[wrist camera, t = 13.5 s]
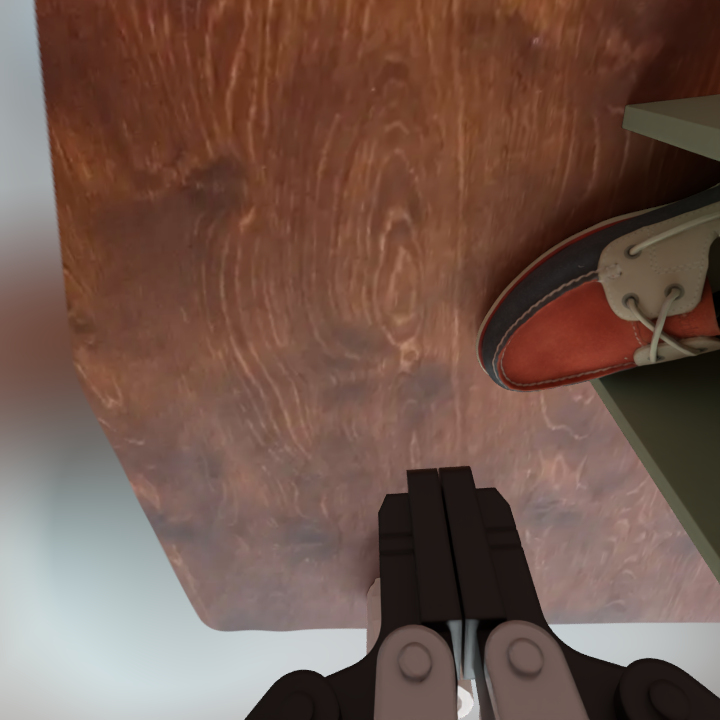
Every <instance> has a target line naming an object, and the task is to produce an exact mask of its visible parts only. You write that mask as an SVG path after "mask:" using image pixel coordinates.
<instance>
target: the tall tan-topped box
mask: <svg viewBox="0 0 720 720" xmlns="http://www.w3.org/2000/svg"><path fill="white" fill-rule="evenodd" d="M622 128H624V129H627V130H630V131H633V132H636V133H639V134H641V135H644V136H647V137H650V138H653V139H656V140H659V141H662V142H665V143H668V144H671V145H674V146H677V147H679V148H682V149H685V150H688V151H691V152H694V153H697V154H700V155H703V156H706V157H709V158H712V159H714V160H717V161H720V94H718V95H710V96H701V97H693V98H684V99H676V100H667V101H659V102H650V103H642V104H633V105H626V107H625V113H624V119H623V125H622ZM590 382H591V384H592V385H593V387H594V389H595V390H596V392H597V393H598V395H599V396H600V398H601V399H602V401H603V403H604V404H605V406H606V407H607V409H608V410H609V412H610V414H611V415H612V417H613V418H614V420H615V421H616V423H617V424H618V426H619V428H620V429H621V431H622V432H623V434H624V435H625V437H626V438H627V440H628V442H629V443H630V445H631V446H632V448H633V449H634V451H635V453H636V454H637V456H638V457H639V459H640V460H641V462H642V463H643V465H644V467H645V468H646V470H647V471H648V473H649V474H650V476H651V478H652V479H653V481H654V482H655V484H656V485H657V487H658V488H659V490H660V492H661V493H662V495H663V496H664V498H665V499H666V501H667V503H668V504H669V506H670V507H671V509H672V510H673V512H674V513H675V515H676V517H677V518H678V520H679V521H680V523H681V524H682V526H683V527H684V529H685V531H686V532H687V534H688V535H689V537H690V538H691V540H692V542H693V543H694V545H695V546H696V548H697V549H698V551H699V552H700V554H701V556H702V557H703V559H704V560H705V562H706V563H707V565H708V567H709V568H710V570H711V571H712V573H713V574H714V576H715V577H716V579H717V581H718V582H719V584H720V349H719V350H715V351H711V352H706V353H702V354H698V355H696V356H688V357H684V358H680V359H676V360H671V361H666V362H661V363H656V364H649V365H642V366H637V367H635V368H632V369H628V370H624V371H619V372H616V373H613V374H610V375H607V376H604V377H601V378H597V379H593V380H590Z"/></svg>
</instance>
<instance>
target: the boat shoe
mask: <svg viewBox="0 0 720 720" xmlns="http://www.w3.org/2000/svg"><path fill="white" fill-rule="evenodd" d="M719 349H720V183H719V184H717V185H716V186H713V187H711V188H709V189H707V190H705V191H702V192H700V193H697V194H695V195H692V196H690V197H687V198H685V199H682V200H679V201H676V202H673V203H670V204H666V205H662V206H658V207H654V208H649V209H645V210H641V211H637V212H633V213H629V214H625V215H621V216H617V217H614V218H611V219H608V220H605V221H602V222H600V223H598V224H596V225H594V226H592V227H590V228H587V229H585V230H583V231H581V232H579V233H577V234H575V235H573V236H571V237H569V238H567V239H565V240H563V241H562V242H560V243H558V244H557V245H555V246H554V247H552V248H551V249H549V250H548V251H546V252H545V253H544V254H542V255H541V256H540V257H539V258H537V259H536V260H535V261H533V262H532V263H531V264H530V265H529V266H528V267H527V268H525V269H524V270H523V271H522V272H521V273H520V274H519V275H518V276H517V277H516V278H515V279H514V280H513V281H512V282H511V283H510V284H509V285H508V286H507V287H506V288H505V290H504V291H503V292H502V293H501V294H500V296H499V297H498V298H497V300H496V301H495V302H494V304H493V305H492V307H491V308H490V310H489V312H488V313H487V315H486V316H485V318H484V320H483V322H482V324H481V326H480V329H479V331H478V334H477V339H476V355H477V359H478V362H479V364H480V366H481V367H482V369H483V370H484V371H485V372H486V373H487V374H488V375H489V376H490V377H491V378H492V380H493V381H494V382H495V383H496V384H498V385H499V386H501V387H502V388H505V389H507V390H512V391H519V392H533V391H541V390H545V389H552V388H556V387H561V386H568V385H573V384H578V383H582V382H586V381H590V380H593V379H597V378H601V377H604V376H607V375H610V374H613V373H616V372H619V371H624V370H628V369H632V368H635V367H637V366H642V365H649V364H656V363H661V362H666V361H671V360H676V359H680V358H684V357H688V356H696V355H698V354H702V353H706V352H711V351H715V350H719Z"/></svg>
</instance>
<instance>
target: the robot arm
mask: <svg viewBox="0 0 720 720" xmlns="http://www.w3.org/2000/svg"><path fill="white" fill-rule="evenodd" d="M438 476H439V477H438ZM407 484H408V493H400V494H386V497H385V499H384V501H383V503H382V506H381V508H380V510H379V512H378V522H379V553H380V555H379V558H380V594H381V628H380V633H379V636H378V639H377V641H376V643H375V645H374V647H373V648H372V649H371V651H370V652H369V653H368V654H367V655H366V656H365V657H364V658H363V659H362V660H360V661H359V662H358V663H356V664H354V665H352V666H350V667H347V668H345V669H343V670H340V671H338V672H336V673H334V674H331V675H329V676H327V677H323V676H322V675H321V674H319V673H317V672H315V671H311V670H297V671H293V672H291V673H288V674H286V675H284V676H283V677H281V678H280V679H279V680H277V681H276V682H275V683H274V684H273V685H272V686H271V687H270V689H269V690H268V691H267V692H266V694H265V695H264V696H263V697H262V699H261V700H260V701H259V702H258V703H257V705H256V706H255V707H254V708H253V710H252V711H251V712H250V713H249V715H248V716H247V717H246V718H245V720H458V710H457V704H458V680H460V670H461V667H462V673H463V680H471V679H475V681H476V687H477V693H478V699H479V705H480V712H479V720H720V698H719V697H717V696H716V695H715V694H713V693H712V692H711V691H710V690H708V689H707V688H706V687H705V686H703V685H702V684H700V683H699V682H698V681H697V680H696V679H694V678H693V677H692V676H690V675H689V674H688V673H686V672H685V671H684V670H682V669H680V668H679V667H677V666H675V665H673V664H671V663H668V662H666V661H663V660H659V659H653V658H645V659H639V660H636V661H634V662H632V663H631V664H629V665H628V666H627V667H624V666H620V665H617V664H613V663H610V662H607V661H603V660H600V659H597V658H593V657H590V656H587V655H584V654H582V653H580V652H578V651H576V650H574V649H572V648H571V647H569V646H567V645H566V644H565V643H564V642H563V641H561V640H560V639H559V638H558V637H557V636H556V635H555V634H554V633H553V631H552V630H551V628H550V627H549V626H548V624H547V622H546V620H545V618H544V615H543V613H542V610H541V607H540V603H539V600H538V597H537V593H536V590H535V587H534V584H533V580H532V577H531V574H530V570H529V567H528V564H527V561H526V557H525V554H524V551H523V548H522V546H521V541H520V538H519V534H518V531H517V530H516V525H515V521H514V518H513V515H512V512H511V508H510V505H509V504H508V503H507V501H506V500H505V499H504V498H503V497H502V495H501V494H500V493H499V492H498V491H497V489H496V488H479V489H476V488H475V483H474V479H473V475H472V471H471V468H470V466H460V467H445V468H439V471H438V472H437V468H432V469H416V470H407Z"/></svg>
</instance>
